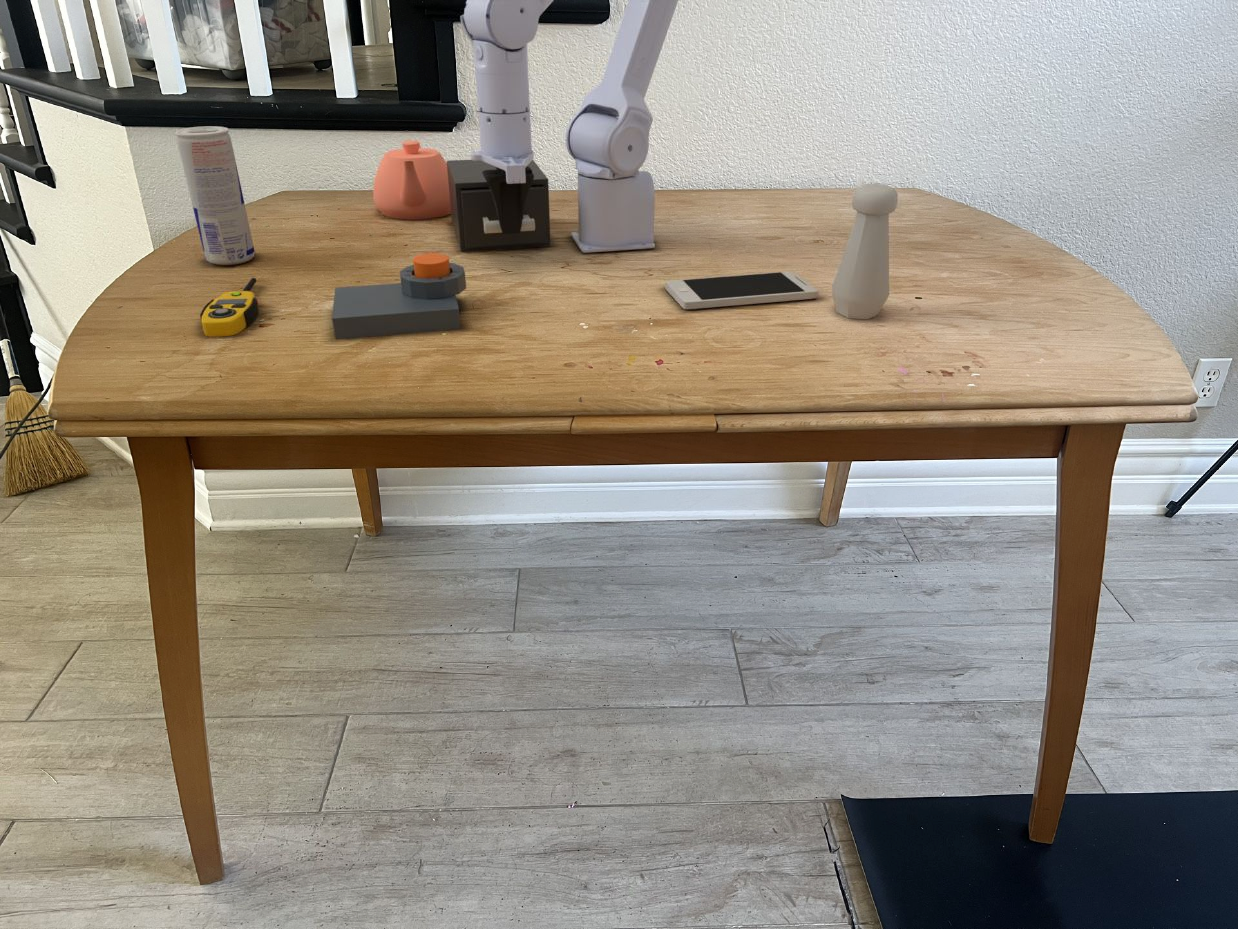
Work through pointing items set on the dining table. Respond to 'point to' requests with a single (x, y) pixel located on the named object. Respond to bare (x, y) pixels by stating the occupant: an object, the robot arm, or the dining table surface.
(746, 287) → the smartphone
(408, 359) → the dining table surface
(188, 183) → the beverage can
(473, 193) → the pull-out drawer
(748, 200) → the dining table surface
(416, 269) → the button
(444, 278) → the block
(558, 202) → the dining table surface
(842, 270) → the salt shaker
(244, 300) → the yellow walkie talkie
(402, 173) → the teapot
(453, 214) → the small drawer cabinet
